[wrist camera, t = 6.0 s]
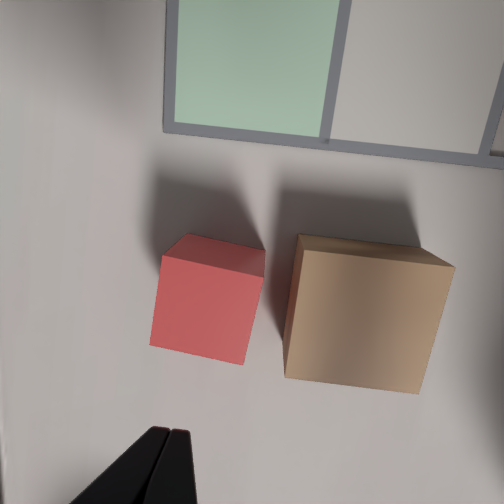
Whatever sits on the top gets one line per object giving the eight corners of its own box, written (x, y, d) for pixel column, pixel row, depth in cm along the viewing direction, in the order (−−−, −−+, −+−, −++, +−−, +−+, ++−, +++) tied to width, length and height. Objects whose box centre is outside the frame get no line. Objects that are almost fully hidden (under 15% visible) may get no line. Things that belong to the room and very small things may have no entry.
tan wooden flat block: (421, 247, 16) (455, 267, 13) (394, 355, 18) (418, 394, 15) (298, 233, 16) (304, 250, 13) (282, 342, 18) (284, 377, 15)
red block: (263, 277, 13) (162, 255, 13) (242, 365, 14) (149, 345, 14) (265, 250, 16) (187, 233, 16) (249, 320, 18) (175, 304, 18)
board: (760, -97, 12) (768, -101, 12) (642, 184, 15) (646, 184, 14) (172, -147, 12) (171, -153, 12) (164, 132, 15) (163, 132, 15)
